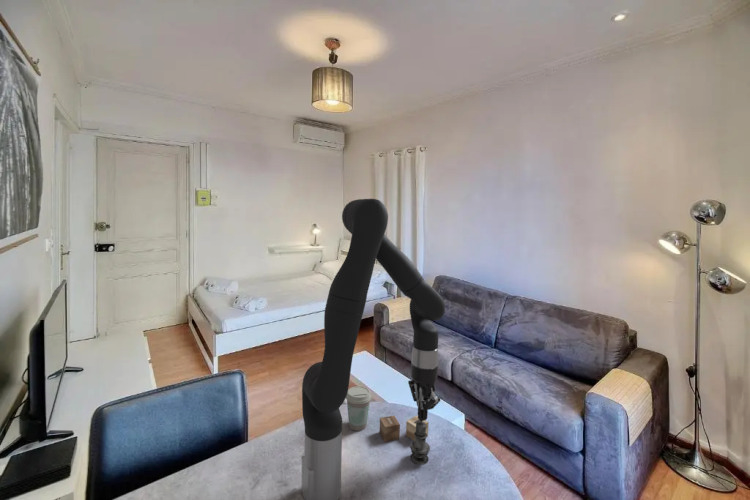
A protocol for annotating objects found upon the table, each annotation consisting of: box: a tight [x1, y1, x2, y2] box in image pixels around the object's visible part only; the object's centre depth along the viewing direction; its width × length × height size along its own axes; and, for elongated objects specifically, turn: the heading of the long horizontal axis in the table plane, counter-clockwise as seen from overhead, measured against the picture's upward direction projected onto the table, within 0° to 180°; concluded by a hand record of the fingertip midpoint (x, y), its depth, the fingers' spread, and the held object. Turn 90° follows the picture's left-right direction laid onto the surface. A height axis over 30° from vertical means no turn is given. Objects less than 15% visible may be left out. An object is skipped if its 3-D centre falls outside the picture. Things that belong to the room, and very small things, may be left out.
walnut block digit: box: [379, 415, 401, 443], centre depth 110 cm, size 5×5×5 cm
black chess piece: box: [409, 421, 431, 466], centre depth 100 cm, size 6×6×12 cm
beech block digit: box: [405, 414, 430, 441], centre depth 110 cm, size 5×5×5 cm
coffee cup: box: [345, 385, 372, 432], centre depth 114 cm, size 8×8×12 cm
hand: (422, 419), depth 99 cm, fingers closed
